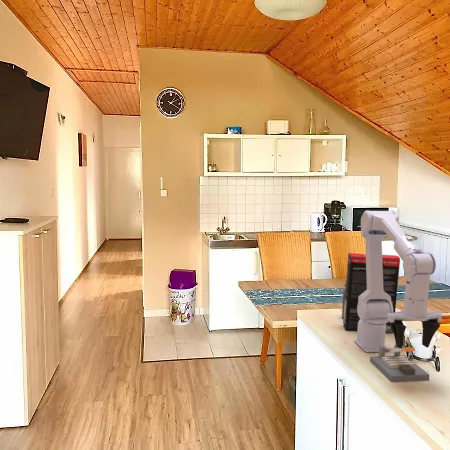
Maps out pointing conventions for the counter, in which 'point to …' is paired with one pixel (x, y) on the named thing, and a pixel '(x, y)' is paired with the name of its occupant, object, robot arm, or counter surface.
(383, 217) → the robot arm
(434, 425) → the counter surface
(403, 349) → the orange-ended grey bar
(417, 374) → the heatsink base
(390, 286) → the graphics card box
